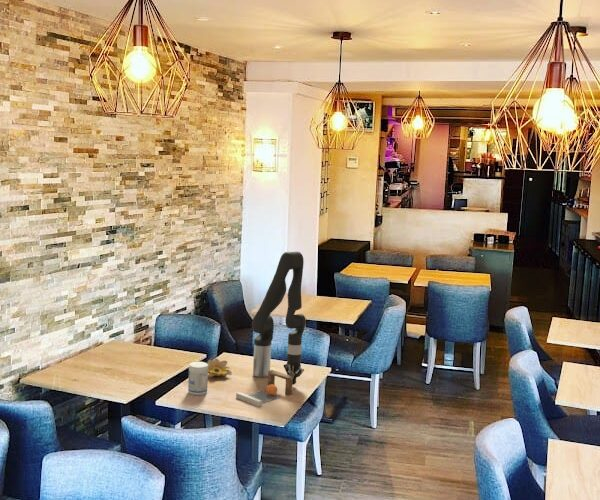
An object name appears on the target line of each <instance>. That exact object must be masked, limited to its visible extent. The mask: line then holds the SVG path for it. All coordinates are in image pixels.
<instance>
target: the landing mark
mask: <svg viewBox="0 0 600 500" xmlns="http://www.w3.org/2000/svg"><path fill="white" fill-rule="evenodd" d="M248 395H249V396H251V397H254V398H256V399H259V400H262V405H263V404H266V403H269V402H271V401H274V400H278V399H280V398H281V396H277V395H276V394H275V395H272V396H271V395H268V394H267V392H266V391H264V390H259V391H255V392H253V393H249V394H248Z"/></svg>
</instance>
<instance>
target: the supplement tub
mask: <svg viewBox="0 0 600 500" xmlns="http://www.w3.org/2000/svg"><path fill="white" fill-rule="evenodd" d="M208 375H209V374H208V363H207V362H204V361H193V362H190V363H189V366H188V381H187V382H188V383H187V384H188V386H187V387H188V388H187V392H188V393H189V394H190V395H193V396H202V395H205V394H207V393H208V383H209V381H208V380H209V377H208Z"/></svg>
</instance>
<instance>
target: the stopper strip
mask: <svg viewBox="0 0 600 500" xmlns="http://www.w3.org/2000/svg"><path fill="white" fill-rule="evenodd" d="M235 398H236V399H238V400H240V401H244V402H246V403H248V404H252V405H253V406H256V407H261V406H262V407H263V404H262V400H259V399H256V398H254V397H251V396H249V394H245V393H243V392H241V391H238V392H236V393H235Z"/></svg>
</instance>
